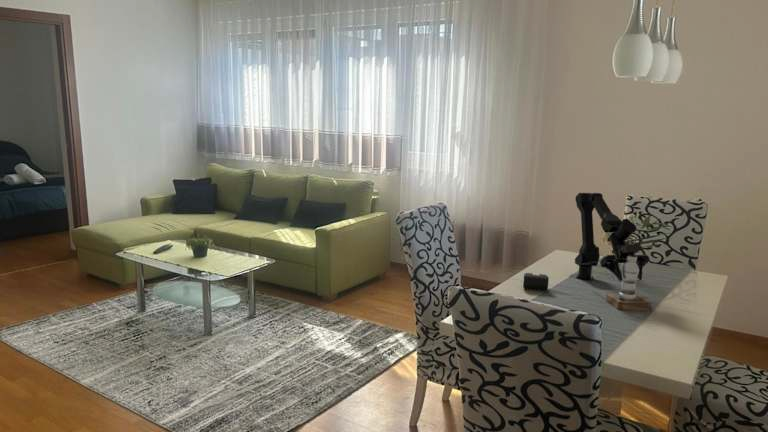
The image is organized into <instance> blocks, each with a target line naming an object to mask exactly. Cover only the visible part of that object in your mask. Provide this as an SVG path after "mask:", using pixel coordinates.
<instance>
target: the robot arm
mask: <svg viewBox="0 0 768 432" xmlns="http://www.w3.org/2000/svg"><path fill="white" fill-rule="evenodd" d="M575 202H576V203H575V204H576V208H577V209H578V211H579V212H580V221H581V236H582V237H581V238H582V239H581V241H582V245H581V246H580V247H579V249H578V250H579V252H578V253H579V254H577V256H576V257H575V258H574V264H576V265H577V266H578V273H577V275H576V277H575V278H576V279H580V280H585V281H586V280H587V281H592V280H593V277H594V275H592V273H593V267H597V266H598V264H599V263H600V267H601V268H605V269H606V270H608V271H609V272H611V273H612V274H614V276H615V277H616V278H617V279H619V281H622V271H621V269H620V267H619V265H620V264H624V263H625V262H626V261H627V260H626V258H627V255H635V254H636V253H637V254H638V253H639V252H641V251H642V249H643V248H642V244H641V243H640V242H635V243H633V244H629V243H627V240H628V239H630V237H631V236H632V235H634V234H635V232H636V231H637V225H635V224H634V222H632V221H630V219H629V218H623V219H622V220H621V219H620V217H619V216H617V215H616V214H614V213H613V212H612V211H611V209H610V208H609V206H608V204H607V202H606V201H605V199H604V198H603V194H602V193H600V192H578V193H577V195H576V196H575ZM594 209H595V211H596V213H597V214H598V216H599V218H600V219H601V222H600V226H601V228H602V230H603V232H604V233H607V234H608V233H609V234H608V237H607V239H606V241H607V242H609V243H610V245H611V249H612V251H611V253H612V254H605V255H604V256H603V257H602V258H601V259H600V256H601V255H600V247H599V246H596V244H595V238H594V237H595V236H594V221H593V220H594V218H593V211H594ZM610 233H611V234H610ZM636 256H637V261H636V263H637V265H638V267H639V273H638V277H637V279H638V280H639V281H642V279H643V267H645V266H646V265H647V264H648V263H649V262H650V261H651V259H650V256H649V255H647V254H638V255H636ZM599 261H600V262H599Z"/></svg>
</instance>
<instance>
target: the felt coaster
mask: <svg viewBox="0 0 768 432" xmlns="http://www.w3.org/2000/svg"><path fill="white" fill-rule="evenodd" d="M592 292H593V293H594V294H596V295H597V296H599V297H601V298H602V299H603V300H605V301H606V294H611V295H612V296H614V297H616V298H617V299H618V295H619V292H620V289H597V290H596V289H593V290H592Z"/></svg>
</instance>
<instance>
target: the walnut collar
mask: <svg viewBox="0 0 768 432" xmlns="http://www.w3.org/2000/svg"><path fill="white" fill-rule="evenodd" d="M635 294H636V301H623V302H622V301H620V300H619V299H617V298H616V297H614V296H612V295H611V294H606V300H605V302H607V303H608V304H609V305H611V306H612V307H613V308H615V309H617V310H618V311H641V310H642V311H644V310H645V311H648V310H652V308H653V307H652V306H653V305H652V304H653V302H652V301H651V300H649V299H647V298H646V297H644V296H642V295H640V294H639V293H637V292H636V293H635Z"/></svg>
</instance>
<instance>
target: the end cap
mask: <svg viewBox="0 0 768 432" xmlns="http://www.w3.org/2000/svg"><path fill="white" fill-rule="evenodd" d="M549 281H550V277H549V275H547V274H544V273H539V274H533V273H532V272H525V273H524V274H523V282H522V283H523V285H522V287H523V289H524V290H527V291H528V290H529V291H530V290H531V291H538V292H547V291H549V288H548V287H549Z"/></svg>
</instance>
